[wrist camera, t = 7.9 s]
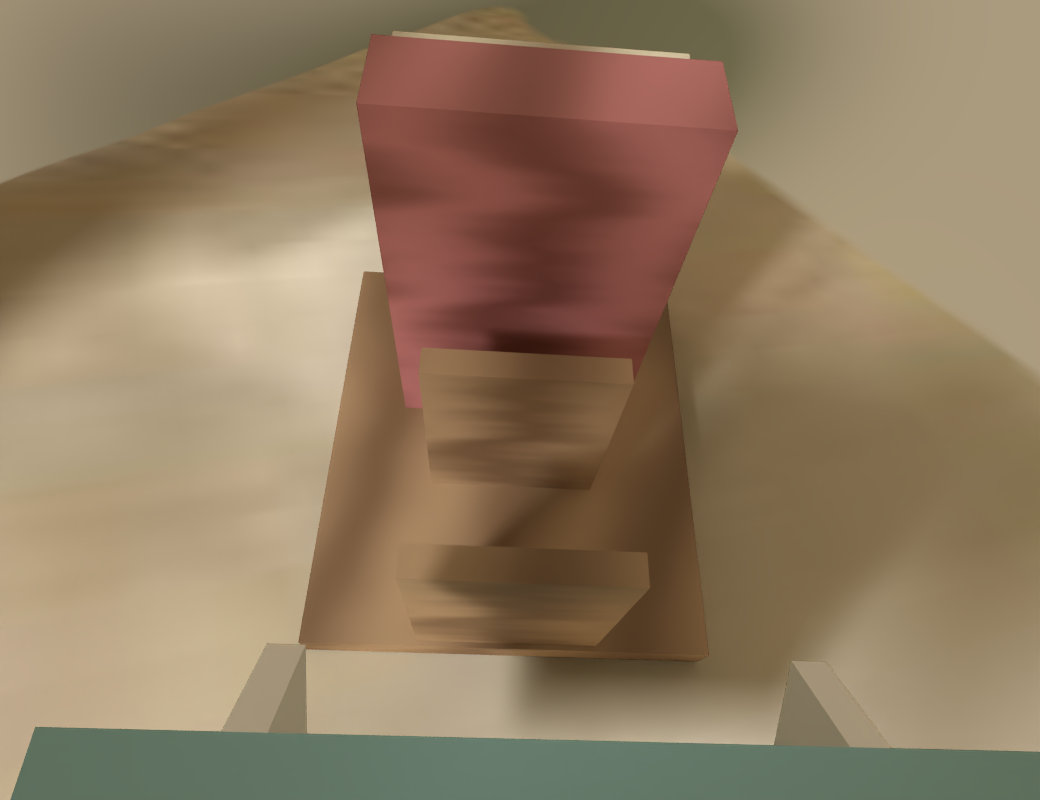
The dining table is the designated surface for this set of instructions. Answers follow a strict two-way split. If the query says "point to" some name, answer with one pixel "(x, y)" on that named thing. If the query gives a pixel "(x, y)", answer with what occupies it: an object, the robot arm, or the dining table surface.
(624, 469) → the book rack
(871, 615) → the dining table surface
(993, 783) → the book
